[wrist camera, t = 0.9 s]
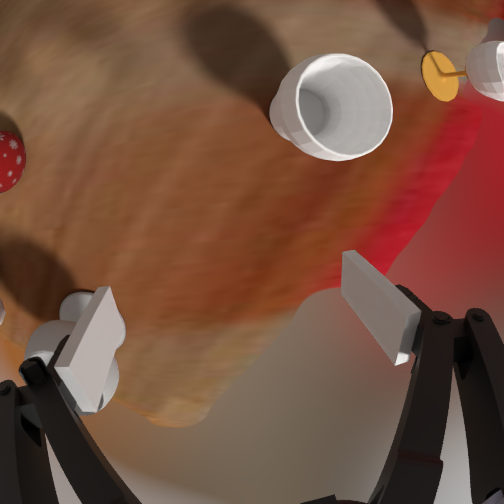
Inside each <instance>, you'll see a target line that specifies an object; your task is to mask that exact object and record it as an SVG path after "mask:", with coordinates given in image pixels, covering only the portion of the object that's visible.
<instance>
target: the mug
mask: <svg viewBox="0 0 504 504" xmlns="http://www.w3.org/2000/svg"><path fill="white" fill-rule="evenodd" d="M4 316H5V309H4V306H3V303H2V300H1V299H0V325H1V324H2V322H3V319H4Z"/></svg>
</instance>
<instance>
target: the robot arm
mask: <svg viewBox="0 0 504 504" xmlns="http://www.w3.org/2000/svg"><path fill="white" fill-rule="evenodd" d="M341 295H342V296H343V297H344V299H345V300H346V301H347V302H348V304H349V305H350V306H351V308H352V309H353V310H354V311H355V313H356V314H357V315H358V317H359V318H360V319H361V321H362V322H363V323H364V325H365V326H366V327H367V329H368V330H369V331H370V333H371V334H372V335H373V337H374V338H375V339H376V341H377V342H378V343H379V345H380V346H381V347H382V349H383V350H384V351H385V353H386V354H387V356H388V357H389V358H390V360H391V361H392V362H393V364H394V365H395V366H396V365H399V364H401V363H404V362H407V361H409V358H410V355H411V351H412V352H413V353H414V354H415V355H416V358H415V361H414V364H413V367H412V370H411V374H412V375H411V379H410V384H409V388H408V392H407V396H406V400H405V404H404V407H403V410H402V414H401V417H400V421H399V424H398V428H397V431H396V434H395V437H394V440H393V443H392V446H391V449H390V452H389V455H388V457H387V460H386V463H385V465H384V468H383V470H382V473H381V476H380V478H379V481H378V483H377V485H376V487H375V489H374V491H373V493H372V495H371V497H370V499H369V501H368V503H363V502H359V501H352V500H336V497H335V495H331V496H327V497H324V498H320V499H316V500H312V501H308V502H304V503H301V504H433V503H434V500H435V496H436V492H437V489H438V486H439V482H440V478H441V474H442V469H443V461H442V460H440V455H441V450H442V445H443V439H444V434H445V429H446V423H447V416H448V409H449V401H450V392H451V381H452V369H453V368H454V372H455V377H456V381H457V386H458V391H459V396H460V401H461V406H462V412H463V418H464V424H465V431H466V439H467V447H468V456H469V468H470V485H471V486H470V487H471V497H472V503H473V504H504V344H503V342H502V340H501V338H500V336H499V333H498V331H497V329H496V327H495V325H494V323H493V321H492V319H491V317H490V315H489V314H488V313H487V312H486V311H484V310H482V309H479V308H472V309H469V310H468V311H467V313H466V316H465V318H463V319H453V318H452V317H451V316H450V315H449V314H447V313H445V312H442V311H434V312H433V311H432V310H431V309H430V308H429V307H428V306H427V305H425V304H424V303H423V302H422V301H421V300H420V299H418V297H417V296H416V295H414V294H413V293H412V292H411V291H410V290H409V289H408V288H406V287H404V286H401V285H393V284H392V283H391V282H390V281H389V280H388V279H387V278H385V277H384V276H383V275H382V274H381V273H380V272H379V271H378V270H377V269H376V268H374V267H373V266H372V265H371V264H370V263H369V262H368V261H367V260H365V259H364V258H363V257H362V256H361V255H360V254H359V253H357V252H356V251H355V250H351V251H345V252H342V282H341ZM123 327H124V326H123V323H122V320H121V318H120V315H119V312H118V309H117V306H116V304H115V301H114V298H113V295H112V292H111V289H110V286H106V287H98V288H97V290H96V291H95V293H94V295H93V296H92V298H91V300H90V301H89V303H88V305H87V307H86V308H85V310H84V312H83V313H82V315H81V317H80V319H79V320H78V322H77V324H76V326H75V328H74V329H73V331H72V333H71V335H66V336H65V337H64V338H63V339H62V340H61V341H60V342H59V344H58V346H57V349H56V350H55V352H54V355H52V357H51V359H50V361H49V363H48V365H47V366H46V365H45V363H44V361H43V360H42V358H41V357H38V356H35V357H31V358H28V359H27V360H25V361H24V362H23V363H22V364H21V365H20V367H19V374H20V375H21V377H22V379H23V380H24V381H25V383H26V386H22V387H17V386H16V384H15V383H14V382H13V381H12V380H5V381H3V382H1V383H0V504H59V502H58V498H57V494H56V490H55V486H54V482H53V477H52V472H51V468H50V462H49V457H48V451H47V444H46V438H45V434H46V436H47V438H48V440H49V443H50V445H51V447H52V449H53V451H54V453H55V455H56V458H57V460H58V461H59V463H60V466H61V467H62V469H63V471H64V473H65V475H66V477H67V478H68V481H69V482H70V484H71V486H72V487H73V489H74V491H75V493H76V494H77V496H78V498H79V499H80V501H81V503H82V504H142V503H141V502H140V501H139V500H138V499H137V497H136V496H135V495H134V494H133V493H132V492H131V490H130V489H129V488H128V487H127V485H126V484H125V483H124V481H123V480H122V479H121V478H120V476H119V475H118V474H117V472H116V471H115V470H114V468H113V467H112V466H111V464H110V463H109V462H108V460H107V459H106V458H105V456H104V455H103V453H102V452H101V450H100V449H99V447H98V446H97V444H96V443H95V441H94V440H93V438H92V437H91V435H90V434H89V432H88V430H87V429H86V427H85V425H84V424H83V422H82V420H81V419H80V417H79V415H78V414H77V412H76V411H75V407H76V404H78V406H79V407H80V409H81V410H82V411H83V412H97V410H98V406H99V403H100V399H101V396H102V392H103V389H104V385H105V382H106V379H107V375H108V372H109V369H110V366H111V363H112V360H113V357H114V354H115V351H116V348H117V345H118V342H119V339H120V336H121V333H122V330H123Z"/></svg>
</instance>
